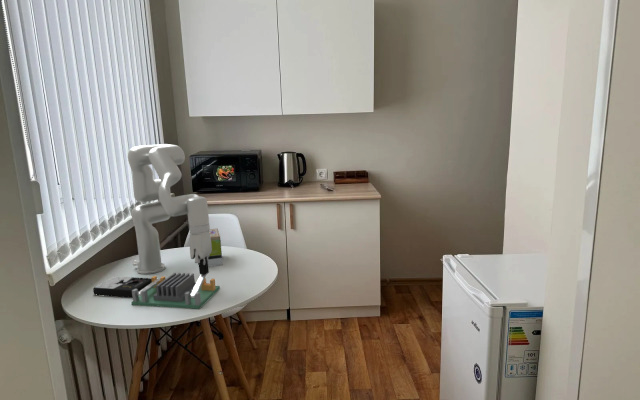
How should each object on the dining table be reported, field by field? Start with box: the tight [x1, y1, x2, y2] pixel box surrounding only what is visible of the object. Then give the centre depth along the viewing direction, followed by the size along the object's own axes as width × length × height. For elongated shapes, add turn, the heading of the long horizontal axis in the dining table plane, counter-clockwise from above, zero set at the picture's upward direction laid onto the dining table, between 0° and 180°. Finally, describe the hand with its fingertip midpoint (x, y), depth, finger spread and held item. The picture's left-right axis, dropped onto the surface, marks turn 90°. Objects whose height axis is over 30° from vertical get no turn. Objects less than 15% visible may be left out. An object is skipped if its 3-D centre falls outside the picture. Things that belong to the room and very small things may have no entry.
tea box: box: [208, 228, 223, 268], centre depth 213 cm, size 15×10×15 cm
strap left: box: [136, 278, 161, 296], centre depth 175 cm, size 2×15×1 cm, turn 169°
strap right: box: [189, 273, 208, 299], centre depth 169 cm, size 2×15×1 cm, turn 169°
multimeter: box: [92, 275, 152, 299], centre depth 182 cm, size 13×19×5 cm
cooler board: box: [131, 272, 221, 310], centre depth 174 cm, size 28×19×7 cm
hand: (204, 273), depth 172 cm, fingers closed
